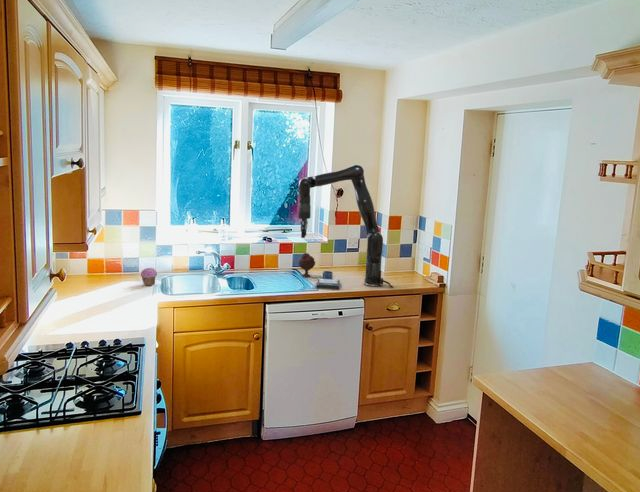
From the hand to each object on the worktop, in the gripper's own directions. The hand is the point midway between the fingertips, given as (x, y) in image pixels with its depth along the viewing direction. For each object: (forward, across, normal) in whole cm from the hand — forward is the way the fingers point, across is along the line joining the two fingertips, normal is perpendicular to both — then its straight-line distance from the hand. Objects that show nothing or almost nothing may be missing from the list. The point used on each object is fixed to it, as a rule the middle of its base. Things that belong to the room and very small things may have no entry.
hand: (303, 236), depth 287 cm
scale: (+28, -9, -16) cm, 34 cm away
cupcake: (+27, -30, +87) cm, 95 cm away
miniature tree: (+28, +12, -1) cm, 30 cm away
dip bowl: (+28, +4, -15) cm, 32 cm away
